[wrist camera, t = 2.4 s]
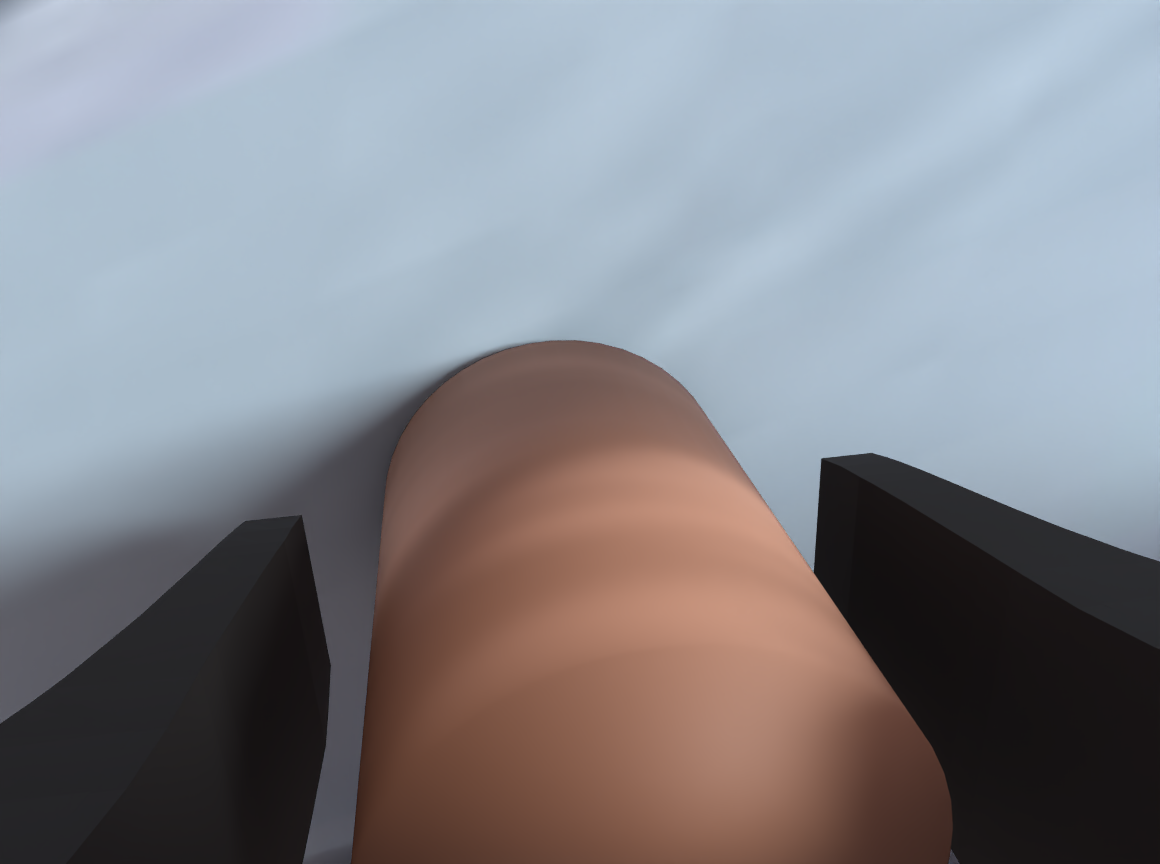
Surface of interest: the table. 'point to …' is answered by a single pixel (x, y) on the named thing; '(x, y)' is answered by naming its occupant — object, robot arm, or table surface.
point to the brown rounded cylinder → (615, 645)
